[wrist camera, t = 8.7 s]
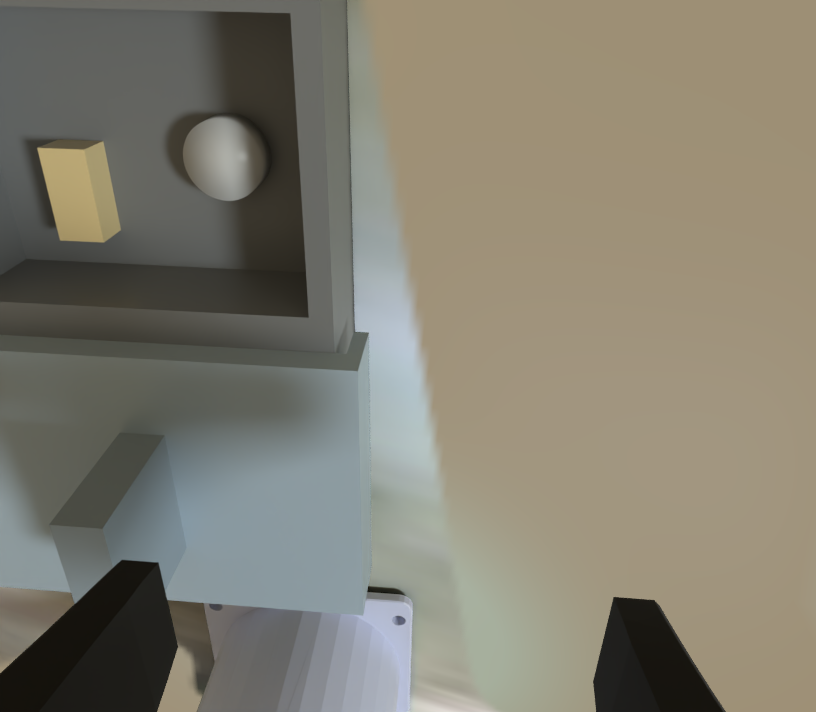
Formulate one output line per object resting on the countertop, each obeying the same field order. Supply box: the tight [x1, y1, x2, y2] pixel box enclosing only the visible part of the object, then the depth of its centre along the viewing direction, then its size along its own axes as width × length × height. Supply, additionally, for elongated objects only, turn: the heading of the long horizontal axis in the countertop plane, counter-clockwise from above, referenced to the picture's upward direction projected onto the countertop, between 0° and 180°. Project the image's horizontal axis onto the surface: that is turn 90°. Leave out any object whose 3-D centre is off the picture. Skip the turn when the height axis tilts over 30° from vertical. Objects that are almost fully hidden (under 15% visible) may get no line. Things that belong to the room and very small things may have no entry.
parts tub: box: [0, 0, 355, 354], centre depth 18 cm, size 16×10×3 cm, turn 179°
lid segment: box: [0, 332, 372, 616], centre depth 18 cm, size 9×11×5 cm
